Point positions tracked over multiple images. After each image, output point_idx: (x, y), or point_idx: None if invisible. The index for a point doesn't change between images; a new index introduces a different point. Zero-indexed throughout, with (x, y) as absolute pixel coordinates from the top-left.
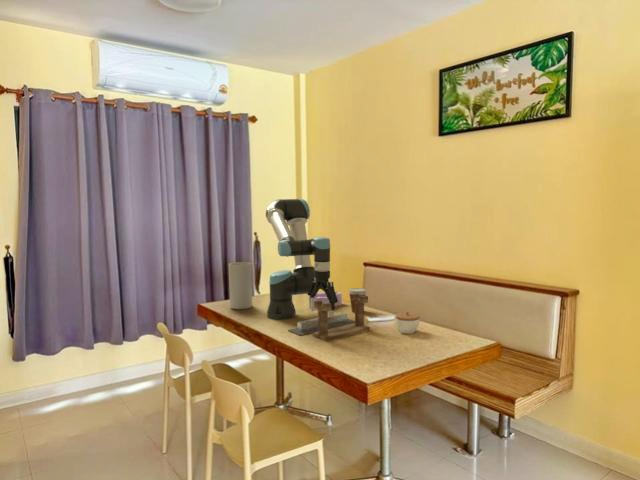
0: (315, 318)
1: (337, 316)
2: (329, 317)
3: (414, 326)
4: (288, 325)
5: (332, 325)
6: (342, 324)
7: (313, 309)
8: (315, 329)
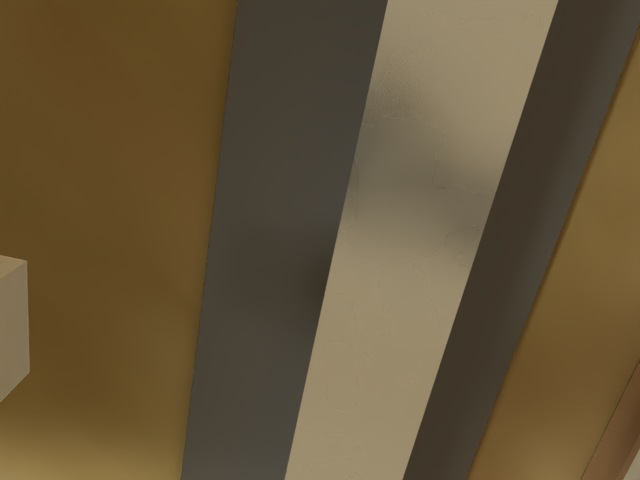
0: (308, 468)
1: (542, 19)
2: (471, 263)
3: None
4: (4, 460)
5: (502, 193)
6: (635, 26)
7: (12, 352)
8: (408, 467)
